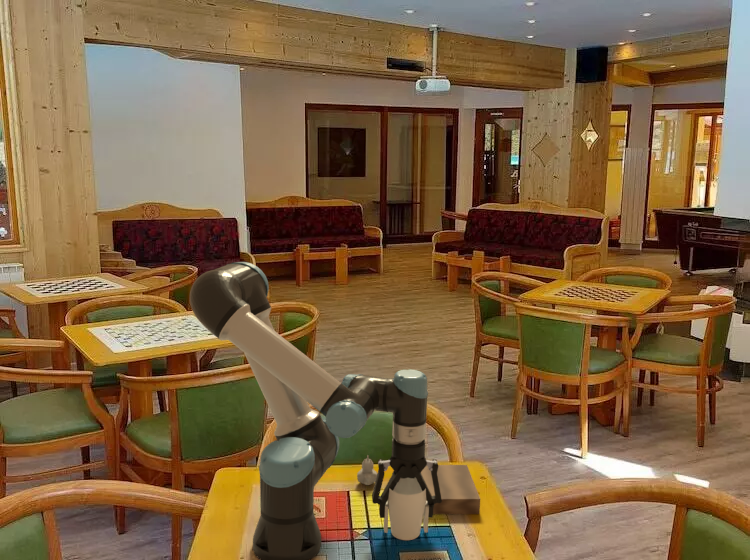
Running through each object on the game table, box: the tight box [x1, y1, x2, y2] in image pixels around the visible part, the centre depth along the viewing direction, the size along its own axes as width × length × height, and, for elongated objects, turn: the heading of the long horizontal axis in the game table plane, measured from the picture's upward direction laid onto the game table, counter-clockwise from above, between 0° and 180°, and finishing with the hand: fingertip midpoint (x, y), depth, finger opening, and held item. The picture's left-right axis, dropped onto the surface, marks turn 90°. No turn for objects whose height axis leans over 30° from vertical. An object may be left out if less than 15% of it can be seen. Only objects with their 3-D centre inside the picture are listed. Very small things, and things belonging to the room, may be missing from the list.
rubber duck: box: [356, 455, 378, 486], centre depth 179 cm, size 5×7×8 cm
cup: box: [388, 478, 426, 541], centre depth 157 cm, size 9×9×12 cm
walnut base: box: [415, 464, 481, 515], centre depth 175 cm, size 18×18×4 cm
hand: (405, 529), depth 158 cm, fingers closed on cup, 9 cm apart
